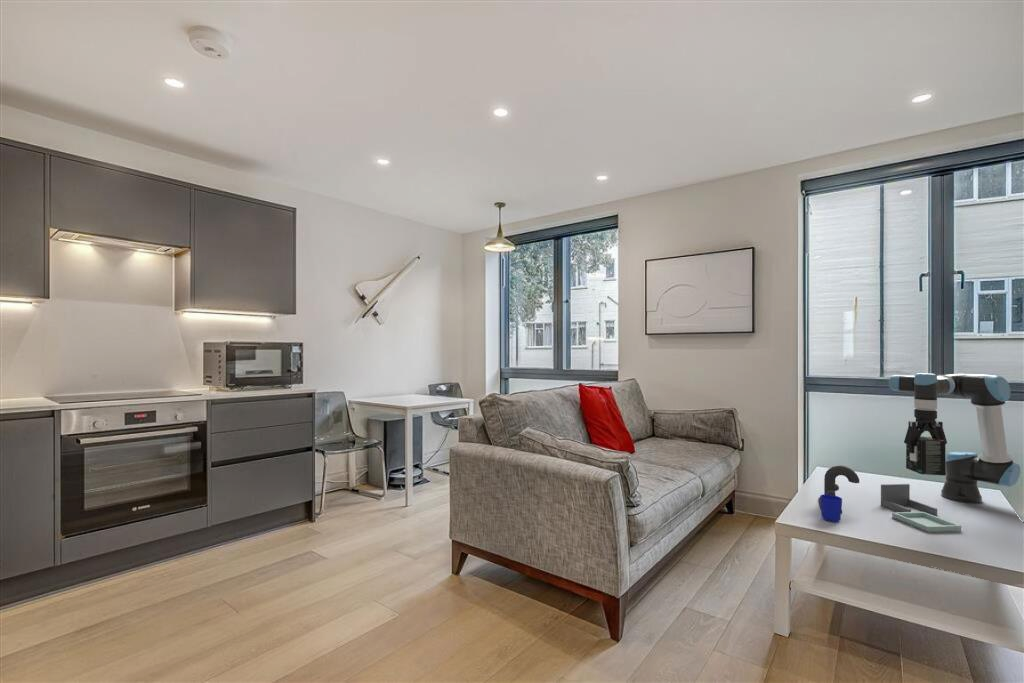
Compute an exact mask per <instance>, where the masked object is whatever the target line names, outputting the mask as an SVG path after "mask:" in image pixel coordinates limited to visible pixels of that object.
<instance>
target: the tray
mask: <svg viewBox="0 0 1024 683" xmlns="http://www.w3.org/2000/svg"><path fill="white" fill-rule="evenodd" d="M891 518H892V519H893V520H896V521H899V522H901V523H903V524H905V525H908V526H911V527H913V528H915V529H918V530H920V531H922V532H925V533H929V534H930V533H934V534H935V533H957V532H958V533H961V532H962V525H959V524H957V523H954V522H953V521H949V520H947V519H944V518H941V517H938V516H937V515H933V514H930V513H927V512H925V511H911V512H897V511H895V512H891Z"/></svg>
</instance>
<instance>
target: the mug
mask: <svg viewBox="0 0 1024 683" xmlns="http://www.w3.org/2000/svg"><path fill="white" fill-rule="evenodd" d="M819 497H820V501H821V509H820V512H821V518H822V519H823V520H825V521H828V522H832V523H838V522H840V521H841V518H842V513H841V509H842V507H843V498H842V497H840V496H839V495H836V496H834V495H827V494H821V495H819Z"/></svg>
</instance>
